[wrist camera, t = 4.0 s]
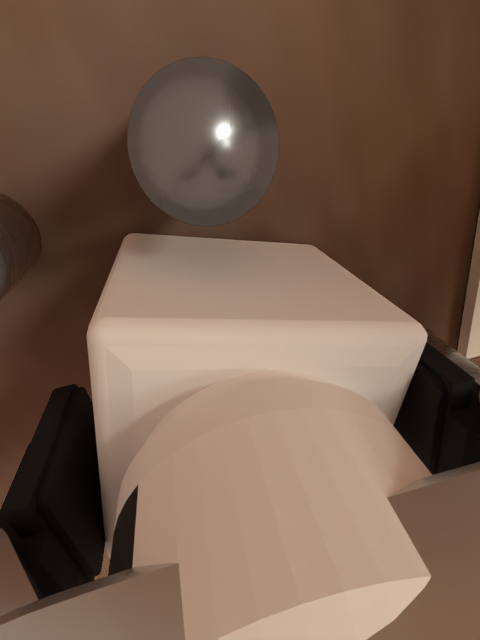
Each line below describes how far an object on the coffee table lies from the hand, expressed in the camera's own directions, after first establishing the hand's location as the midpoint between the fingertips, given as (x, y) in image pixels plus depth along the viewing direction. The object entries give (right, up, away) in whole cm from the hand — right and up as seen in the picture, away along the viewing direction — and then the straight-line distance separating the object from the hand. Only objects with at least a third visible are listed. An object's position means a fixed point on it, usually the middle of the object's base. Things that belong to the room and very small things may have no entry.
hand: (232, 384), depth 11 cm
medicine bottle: (-1, +2, +4) cm, 4 cm away
